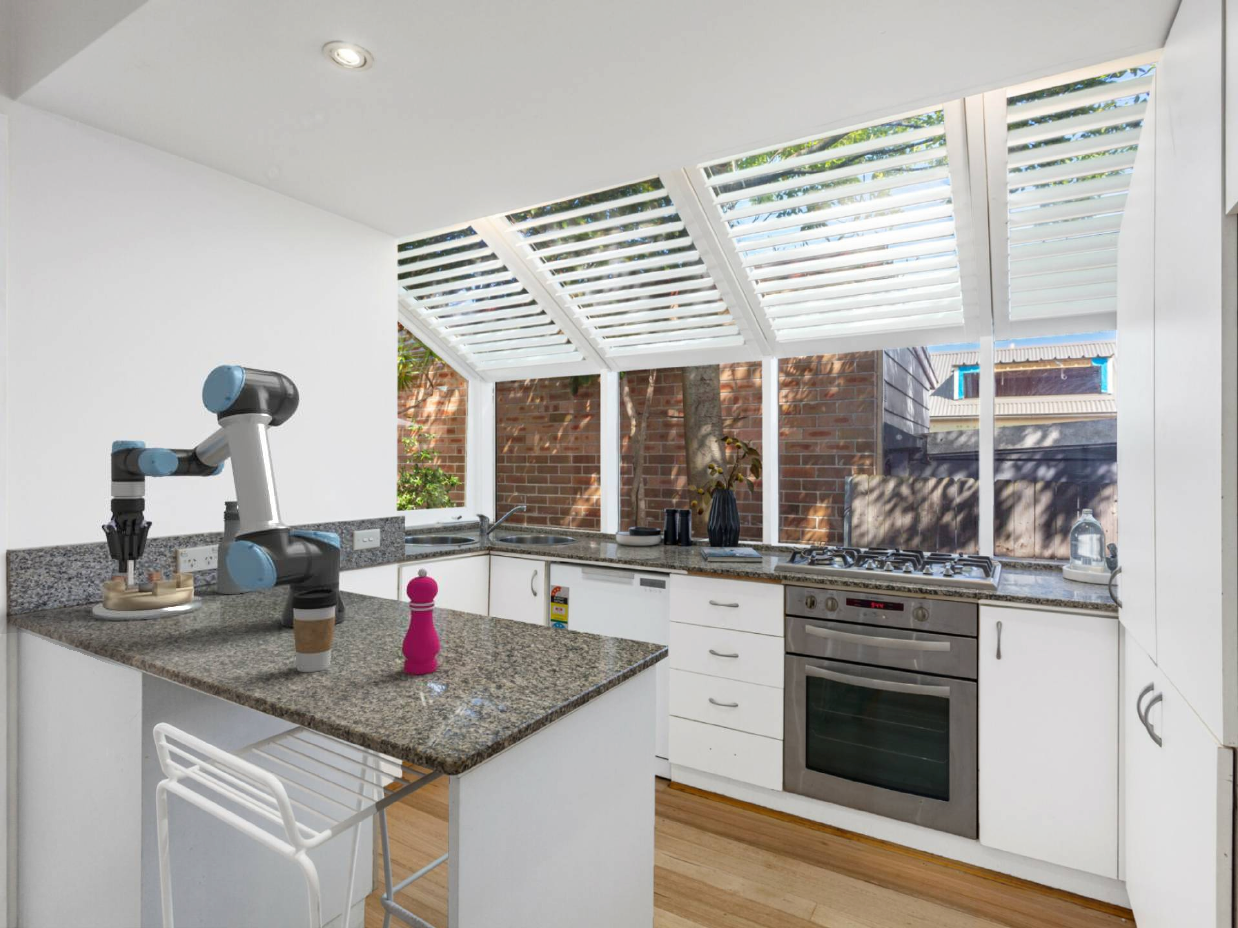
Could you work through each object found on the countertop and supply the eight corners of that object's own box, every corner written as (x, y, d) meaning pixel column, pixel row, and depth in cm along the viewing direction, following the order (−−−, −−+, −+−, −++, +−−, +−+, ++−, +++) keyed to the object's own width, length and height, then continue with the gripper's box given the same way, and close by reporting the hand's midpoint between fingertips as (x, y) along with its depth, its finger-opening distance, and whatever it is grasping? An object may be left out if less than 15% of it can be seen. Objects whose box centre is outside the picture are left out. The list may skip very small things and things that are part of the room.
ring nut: (207, 600, 185) (208, 576, 185) (122, 613, 168) (123, 586, 168) (172, 592, 196) (173, 569, 196) (89, 603, 179) (90, 578, 179)
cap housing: (212, 611, 182) (212, 598, 182) (100, 625, 165) (100, 610, 165) (189, 598, 199) (190, 586, 199) (86, 609, 182) (86, 596, 182)
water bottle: (245, 587, 217) (246, 500, 217) (260, 591, 211) (262, 501, 211) (210, 592, 209) (212, 501, 209) (225, 596, 203) (227, 502, 203)
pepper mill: (419, 677, 129) (421, 572, 129) (393, 671, 133) (395, 568, 133) (447, 668, 135) (449, 567, 135) (422, 662, 139) (424, 564, 139)
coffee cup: (345, 666, 135) (347, 590, 135) (306, 676, 128) (307, 597, 128) (319, 659, 140) (321, 586, 140) (280, 669, 133) (282, 592, 133)
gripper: (139, 495, 191) (137, 579, 191) (93, 498, 179) (92, 587, 179) (160, 496, 190) (159, 581, 190) (116, 498, 177) (115, 589, 177)
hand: (126, 584), depth 184 cm, fingers closed
